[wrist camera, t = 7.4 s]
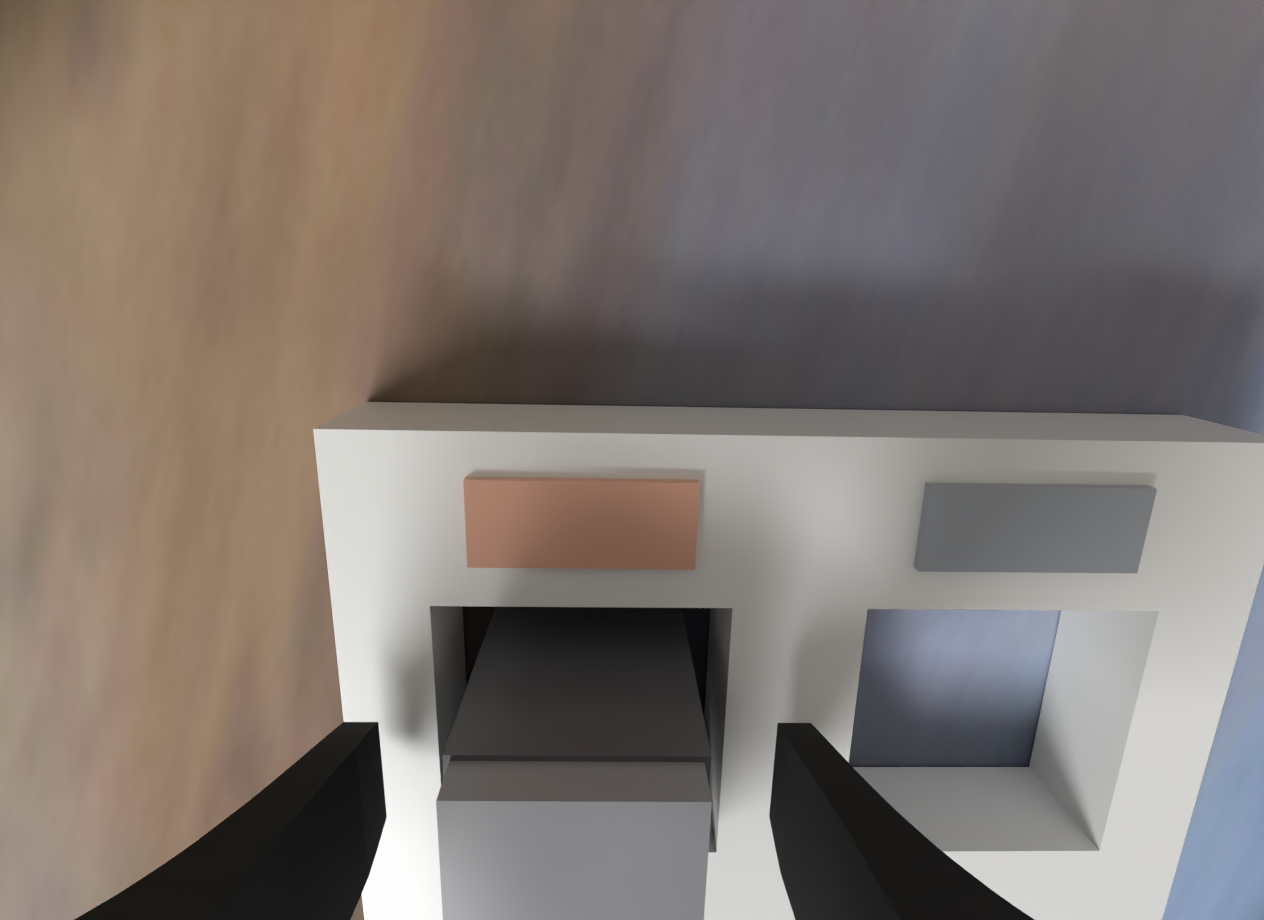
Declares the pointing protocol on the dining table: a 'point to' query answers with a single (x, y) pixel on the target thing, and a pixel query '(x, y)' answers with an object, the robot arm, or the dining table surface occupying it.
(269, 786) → the robot arm
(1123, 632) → the socket block
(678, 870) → the plug
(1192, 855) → the dining table surface
